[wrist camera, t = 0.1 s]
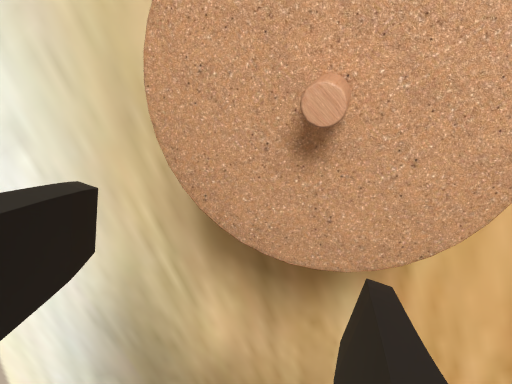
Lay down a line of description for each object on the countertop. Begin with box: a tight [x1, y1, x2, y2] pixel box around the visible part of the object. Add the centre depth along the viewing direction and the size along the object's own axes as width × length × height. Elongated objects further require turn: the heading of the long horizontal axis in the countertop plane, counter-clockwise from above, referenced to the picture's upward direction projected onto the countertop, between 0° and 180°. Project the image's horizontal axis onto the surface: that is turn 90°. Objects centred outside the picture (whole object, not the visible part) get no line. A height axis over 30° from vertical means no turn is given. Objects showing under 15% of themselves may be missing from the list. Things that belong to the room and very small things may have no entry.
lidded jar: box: [144, 0, 512, 272], centre depth 13 cm, size 11×11×9 cm
